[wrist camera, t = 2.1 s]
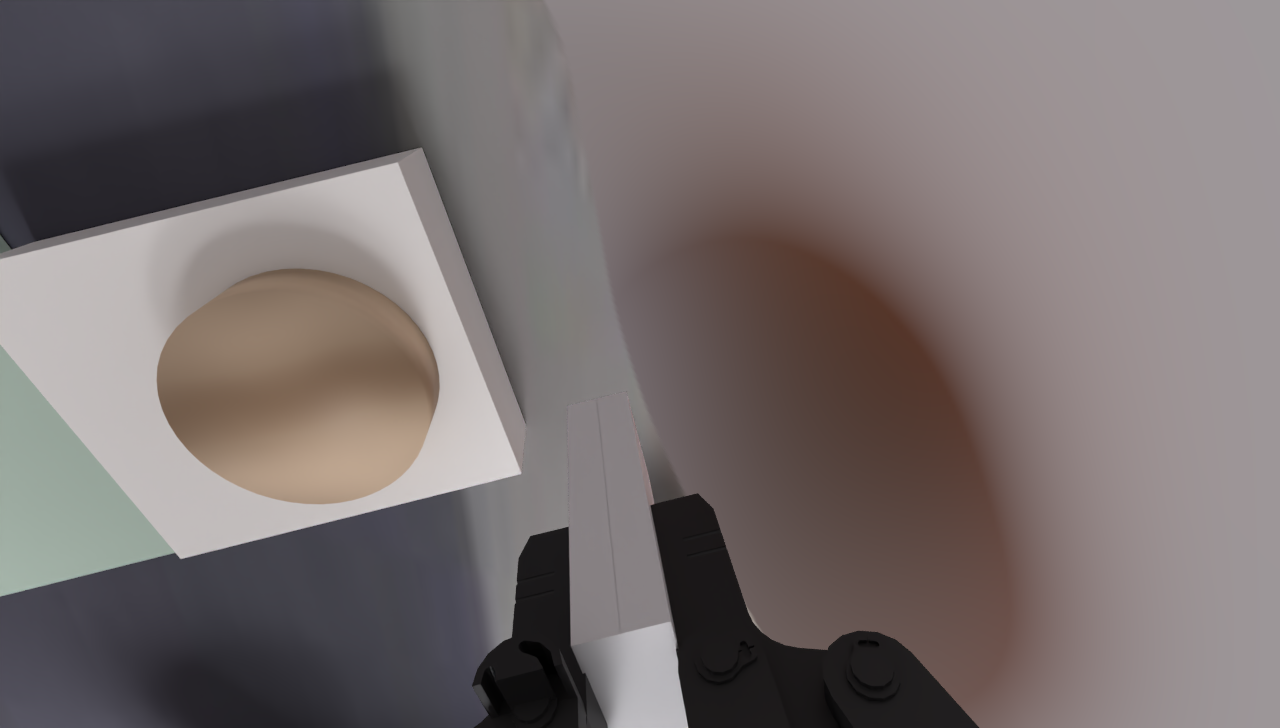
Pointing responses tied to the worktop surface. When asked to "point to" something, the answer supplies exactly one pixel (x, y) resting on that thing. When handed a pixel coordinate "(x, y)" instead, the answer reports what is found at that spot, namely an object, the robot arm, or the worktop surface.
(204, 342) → the tan flat disc
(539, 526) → the worktop surface
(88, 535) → the rubber mat
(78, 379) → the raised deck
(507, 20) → the worktop surface
